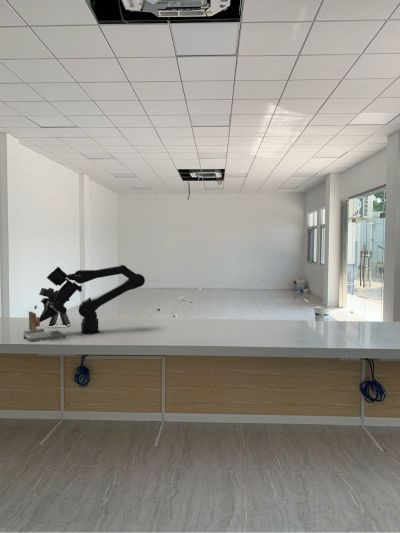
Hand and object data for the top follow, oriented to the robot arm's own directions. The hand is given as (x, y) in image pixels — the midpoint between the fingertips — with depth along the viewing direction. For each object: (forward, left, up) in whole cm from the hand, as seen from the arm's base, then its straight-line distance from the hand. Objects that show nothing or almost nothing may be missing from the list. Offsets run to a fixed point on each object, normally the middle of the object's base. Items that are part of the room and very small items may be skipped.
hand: (39, 321), depth 166 cm
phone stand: (-15, -21, -7) cm, 27 cm away
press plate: (+2, 0, -4) cm, 4 cm away
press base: (-2, 0, -7) cm, 7 cm away
